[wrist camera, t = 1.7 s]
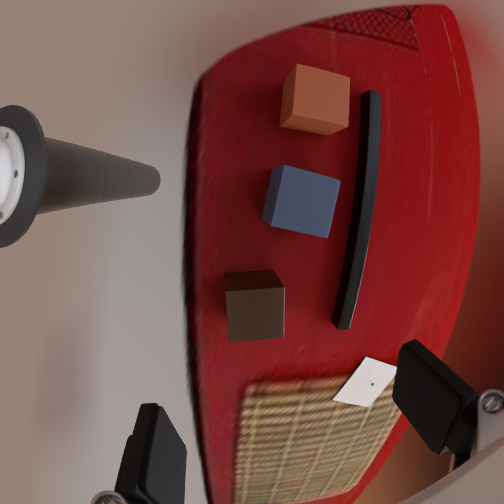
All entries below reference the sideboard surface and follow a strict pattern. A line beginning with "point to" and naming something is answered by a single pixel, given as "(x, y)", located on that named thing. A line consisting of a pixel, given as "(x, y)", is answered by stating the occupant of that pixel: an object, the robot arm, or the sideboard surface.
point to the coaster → (366, 383)
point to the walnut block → (254, 305)
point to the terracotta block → (315, 101)
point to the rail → (360, 209)
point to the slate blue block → (300, 201)
